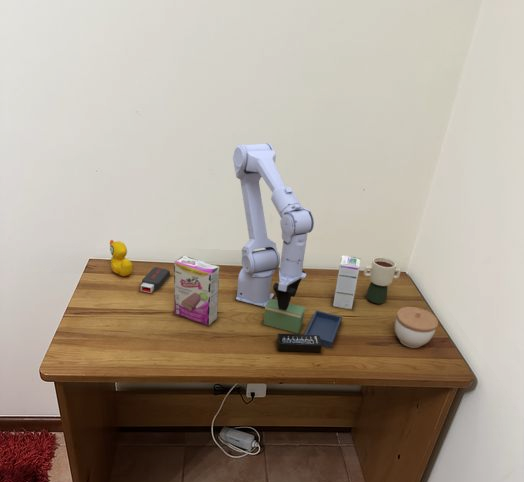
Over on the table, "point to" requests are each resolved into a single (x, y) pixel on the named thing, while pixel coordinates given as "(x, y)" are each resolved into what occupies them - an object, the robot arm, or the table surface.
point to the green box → (284, 316)
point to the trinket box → (415, 326)
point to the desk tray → (324, 327)
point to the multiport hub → (299, 342)
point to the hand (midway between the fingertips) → (286, 302)
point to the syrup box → (346, 282)
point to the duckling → (120, 259)
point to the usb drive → (154, 279)
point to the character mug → (380, 278)
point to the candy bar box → (196, 290)
